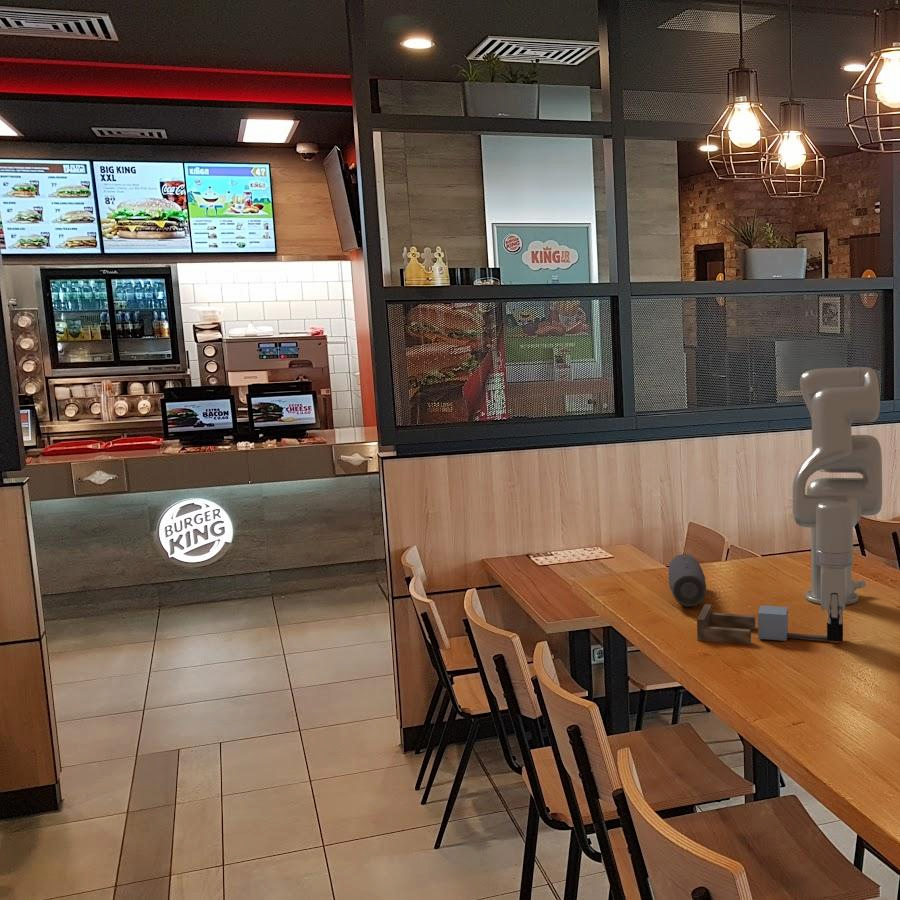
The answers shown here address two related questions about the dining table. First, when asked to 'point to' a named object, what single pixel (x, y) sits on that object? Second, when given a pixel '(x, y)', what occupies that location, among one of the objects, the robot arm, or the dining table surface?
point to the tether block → (780, 625)
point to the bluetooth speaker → (687, 580)
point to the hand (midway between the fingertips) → (835, 637)
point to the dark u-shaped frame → (724, 626)
